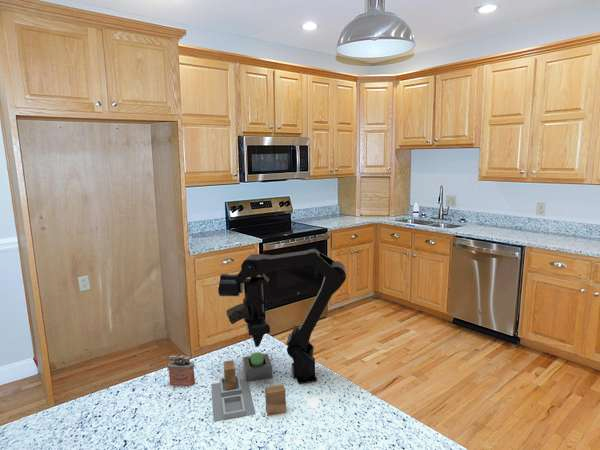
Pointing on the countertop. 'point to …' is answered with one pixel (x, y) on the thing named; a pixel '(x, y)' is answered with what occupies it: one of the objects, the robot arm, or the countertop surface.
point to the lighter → (181, 371)
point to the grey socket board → (231, 400)
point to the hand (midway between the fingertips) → (256, 343)
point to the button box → (257, 369)
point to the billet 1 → (229, 375)
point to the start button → (257, 359)
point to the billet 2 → (275, 399)
